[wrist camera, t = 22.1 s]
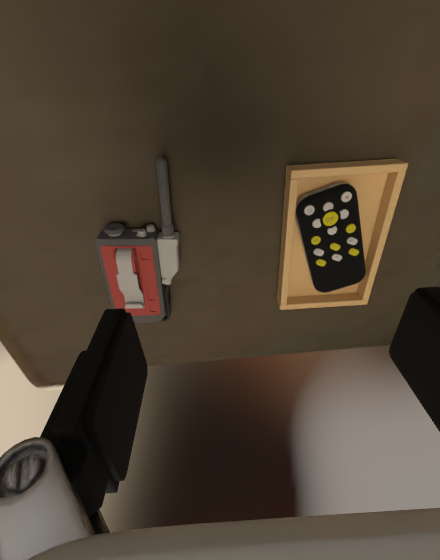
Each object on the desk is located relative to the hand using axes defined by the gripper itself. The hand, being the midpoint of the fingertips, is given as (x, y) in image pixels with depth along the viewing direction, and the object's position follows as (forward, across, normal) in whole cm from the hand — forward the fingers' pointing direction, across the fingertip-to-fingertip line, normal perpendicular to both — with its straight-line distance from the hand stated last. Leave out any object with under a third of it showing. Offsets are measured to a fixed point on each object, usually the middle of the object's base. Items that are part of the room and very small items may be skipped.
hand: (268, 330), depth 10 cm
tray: (+23, -11, +9) cm, 27 cm away
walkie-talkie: (+23, +10, +8) cm, 27 cm away
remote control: (+23, -11, +8) cm, 27 cm away
